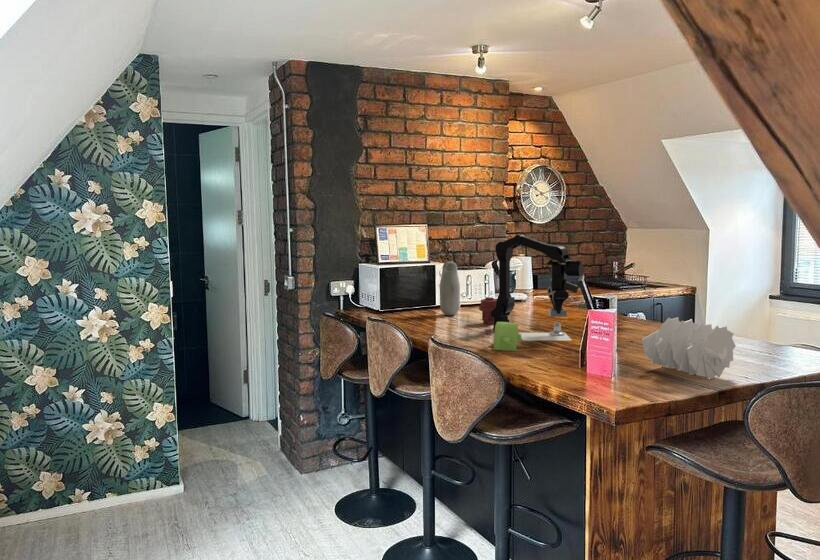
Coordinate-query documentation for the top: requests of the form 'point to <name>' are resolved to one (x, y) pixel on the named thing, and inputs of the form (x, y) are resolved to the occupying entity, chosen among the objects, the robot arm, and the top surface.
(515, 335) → the green pegged block
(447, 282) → the grey bottle
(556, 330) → the silver domed knob
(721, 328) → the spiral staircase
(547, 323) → the top surface
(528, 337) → the mat
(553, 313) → the square frame
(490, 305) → the mechanical component
